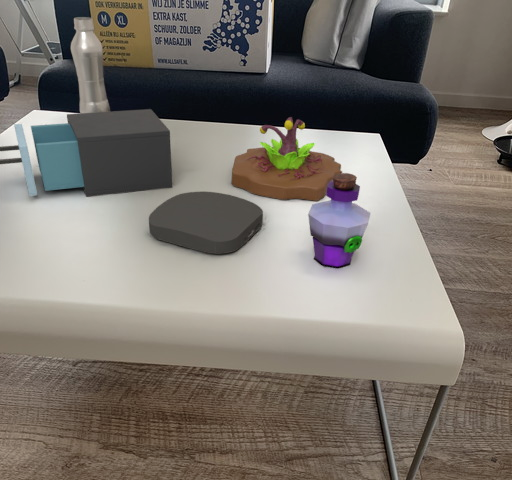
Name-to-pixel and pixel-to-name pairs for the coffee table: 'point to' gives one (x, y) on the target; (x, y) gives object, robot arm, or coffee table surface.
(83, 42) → the plastic bottle
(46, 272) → the coffee table surface
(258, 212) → the media streaming box
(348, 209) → the potion bottle
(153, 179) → the cabinet
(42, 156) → the drawer
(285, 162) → the plant
